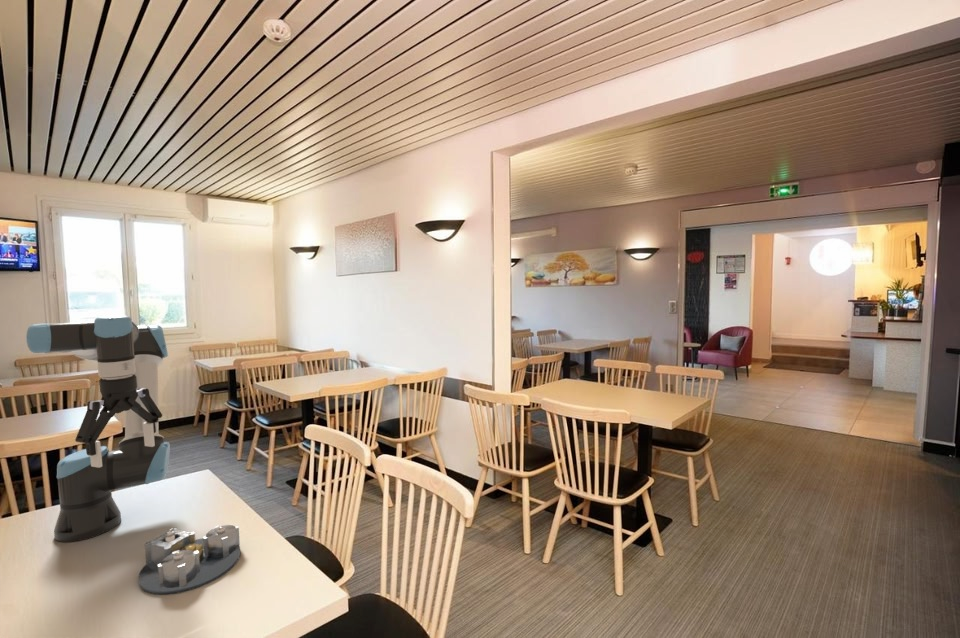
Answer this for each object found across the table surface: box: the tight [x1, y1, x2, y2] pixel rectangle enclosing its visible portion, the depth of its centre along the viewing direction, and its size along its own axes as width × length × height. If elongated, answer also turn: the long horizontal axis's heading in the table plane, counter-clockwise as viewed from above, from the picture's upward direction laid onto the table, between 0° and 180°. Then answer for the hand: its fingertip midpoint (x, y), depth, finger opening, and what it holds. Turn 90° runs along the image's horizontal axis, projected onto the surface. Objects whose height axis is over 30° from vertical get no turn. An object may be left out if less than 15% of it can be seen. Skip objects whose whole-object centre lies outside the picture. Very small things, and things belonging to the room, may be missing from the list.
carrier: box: [138, 524, 241, 596], centre depth 117 cm, size 22×22×8 cm
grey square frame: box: [144, 527, 196, 565], centre depth 119 cm, size 9×9×5 cm
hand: (124, 455), depth 119 cm, fingers open, 13 cm apart
